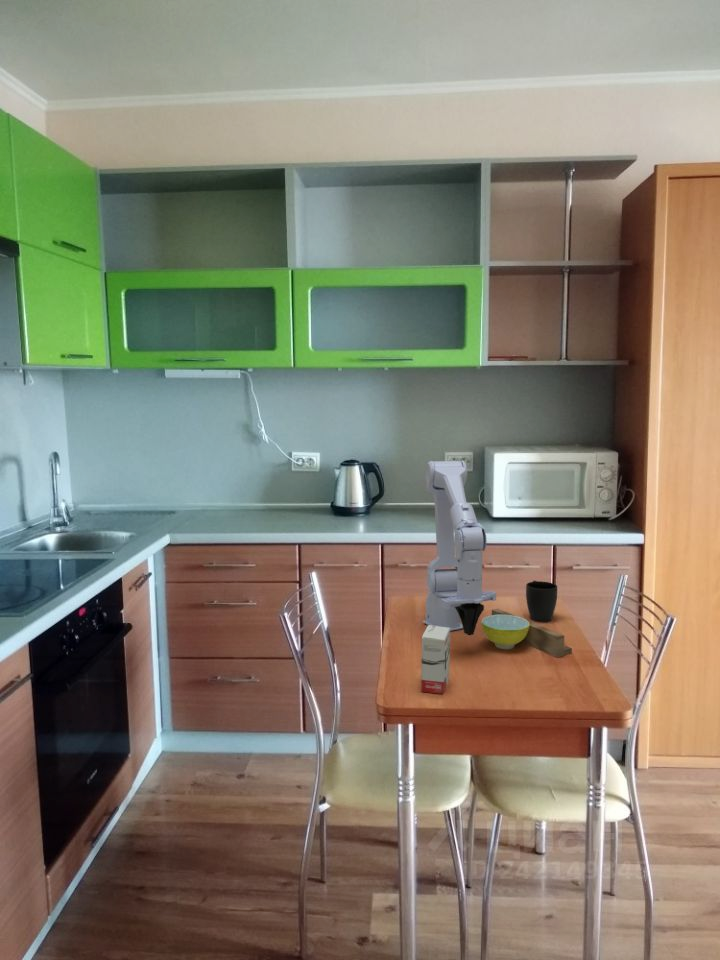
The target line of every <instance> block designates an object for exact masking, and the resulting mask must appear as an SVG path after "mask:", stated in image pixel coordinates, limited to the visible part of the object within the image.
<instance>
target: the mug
mask: <svg viewBox="0 0 720 960" xmlns="http://www.w3.org/2000/svg"><path fill="white" fill-rule="evenodd" d="M525 597H526V598H525V599H526V605H527V610H528V613H529V616H530V620H532V621H533V622H537V623H547V622H551V621H552V619H553V615H554V612H555V610H556V606H557V601H558V600H557V599H558V585H557V584H555V583H553V582H549V581H539V580H532V581H531V582H527V583H526V586H525Z"/></svg>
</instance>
